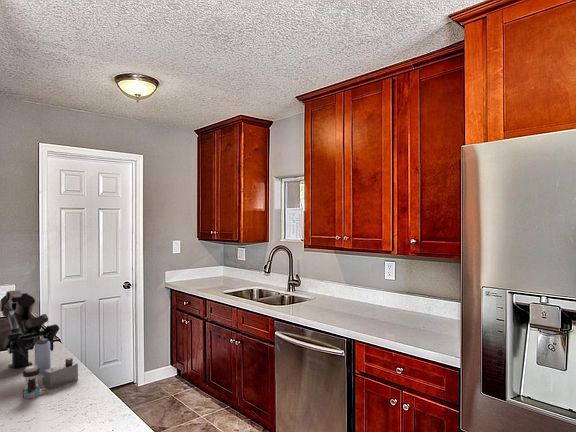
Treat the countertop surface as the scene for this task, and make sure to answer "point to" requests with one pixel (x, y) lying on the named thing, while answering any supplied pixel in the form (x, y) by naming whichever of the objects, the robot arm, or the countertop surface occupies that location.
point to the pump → (42, 355)
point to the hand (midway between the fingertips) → (40, 353)
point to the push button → (31, 382)
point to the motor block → (59, 375)
